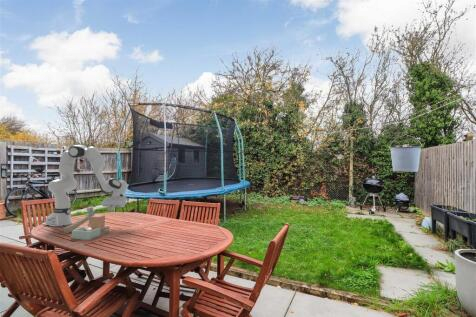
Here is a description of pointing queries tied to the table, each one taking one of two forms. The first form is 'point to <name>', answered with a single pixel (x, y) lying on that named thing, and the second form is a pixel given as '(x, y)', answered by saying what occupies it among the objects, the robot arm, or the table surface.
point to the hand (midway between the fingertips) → (109, 210)
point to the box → (85, 234)
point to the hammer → (80, 221)
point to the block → (98, 221)
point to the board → (102, 230)
